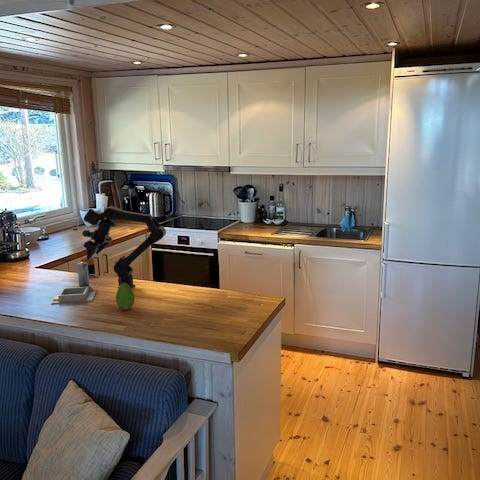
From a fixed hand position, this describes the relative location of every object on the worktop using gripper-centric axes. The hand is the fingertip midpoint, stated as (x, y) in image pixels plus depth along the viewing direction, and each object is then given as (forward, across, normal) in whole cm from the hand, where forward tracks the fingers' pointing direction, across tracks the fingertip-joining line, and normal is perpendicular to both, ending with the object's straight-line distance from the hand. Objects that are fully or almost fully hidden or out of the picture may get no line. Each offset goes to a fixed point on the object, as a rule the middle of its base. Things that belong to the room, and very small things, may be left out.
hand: (92, 256), depth 241 cm
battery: (+22, -21, -5) cm, 31 cm away
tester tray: (+13, +19, +6) cm, 24 cm away
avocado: (-1, +30, +33) cm, 45 cm away
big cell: (+16, +2, +3) cm, 16 cm away
